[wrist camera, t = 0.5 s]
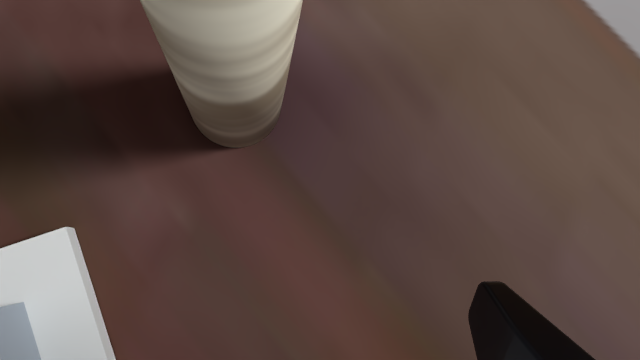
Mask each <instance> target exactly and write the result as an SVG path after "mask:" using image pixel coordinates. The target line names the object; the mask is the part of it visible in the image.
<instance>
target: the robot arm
mask: <svg viewBox="0 0 640 360" xmlns="http://www.w3.org/2000/svg"><path fill="white" fill-rule="evenodd" d="M468 318H469V325H470V329H471V334H472V338H473V343H474V347H475V351H476V356H477V360H595V359H594V358H593V357H592V356H591V355H589V354H588V353H587V352H586V351H585V350H583V349H582V348H581V347H580V346H579V345H577V344H576V343H575V342H574V341H573V340H571V339H570V338H569V337H568V336H567V335H565V334H564V333H563V332H562V331H561V330H559V329H558V328H557V327H556V326H555V325H553V324H552V323H551V322H550V321H549V320H548V319H546V318H545V317H544V316H543V315H542V314H540V313H539V312H538V311H537V310H536V309H534V308H533V307H532V306H531V305H530V304H528V303H527V302H526V301H525V300H524V299H522V298H521V297H520V296H519V295H518V294H516V293H515V292H514V291H513V290H512V289H510V288H509V287H508V286H507V285H506V284H504V283H502V282H499V281H493V282H481V283H480V284H479V285H478V287H477V290H476V293H475V295H474V298H473V301H472V304H471V306H470V309H469V315H468Z"/></svg>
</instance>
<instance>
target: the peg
mask: <svg viewBox="0 0 640 360" xmlns="http://www.w3.org/2000/svg"><path fill="white" fill-rule="evenodd" d="M140 1H141V4H142V6H143V8H144V10H145V13H146V15H147V17H148V19H149V22H150V24H151V26H152V28H153V31H154V33H155V35H156V37H157V40H158V42H159V44H160V46H161V49H162V51H163V53H164V55H165V58H166V60H167V62H168V64H169V67H170V69H171V71H172V73H173V76H174V78H175V80H176V82H177V85H178V87H179V89H180V91H181V93H182V96H183V98H184V100H185V102H186V105H187V107H188V109H189V111H190V114H191V116H192V118H193V120H194V123H195V124H196V126H197V128H198V129H199V130H200V132H201V133H202V134H203V135H204V136H205V137H207V138H208V139H209V140H211V141H213V142H214V143H216V144H219V145H222V146H225V147H232V148H241V147H247V146H251V145H253V144H256V143H258V142H259V141H261V140H263V139H264V138H265V137H266V136H267V135H268V134H270V132H271V131H272V130H273V129H274V127H275V125H276V124H277V121H278V119H279V115H280V111H281V106H282V101H283V96H284V91H285V86H286V81H287V76H288V71H289V66H290V61H291V56H292V51H293V46H294V41H295V36H296V32H297V27H298V22H299V17H300V12H301V7H302V2H303V0H140Z"/></svg>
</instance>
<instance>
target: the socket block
mask: <svg viewBox="0 0 640 360" xmlns="http://www.w3.org/2000/svg"><path fill="white" fill-rule="evenodd" d="M0 360H116V359H115V356H114V353H113V349H112V346H111V343H110V340H109V337H108V334H107V330H106V327H105V324H104V321H103V318H102V315H101V311H100V308H99V305H98V302H97V299H96V296H95V292H94V289H93V286H92V283H91V280H90V277H89V273H88V270H87V267H86V264H85V261H84V258H83V254H82V251H81V248H80V245H79V242H78V239H77V235H76V232H75V229H74V228H70V227H64V228H61V229H58V230H55V231H52V232H49V233H46V234H43V235H40V236H37V237H34V238H31V239H28V240H25V241H22V242H19V243H16V244H13V245H10V246H7V247H4V248H1V249H0Z"/></svg>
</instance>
